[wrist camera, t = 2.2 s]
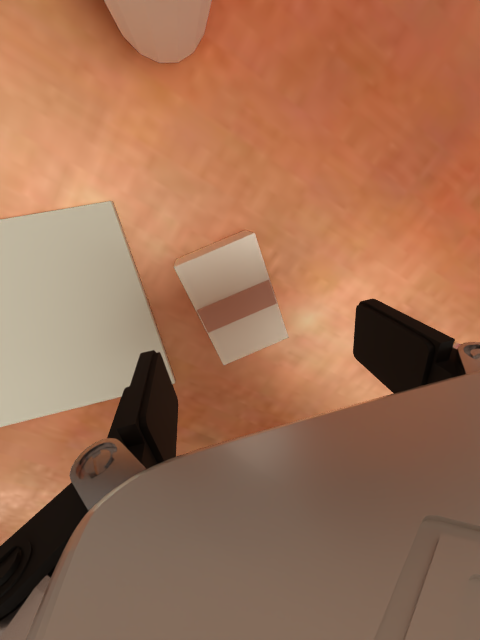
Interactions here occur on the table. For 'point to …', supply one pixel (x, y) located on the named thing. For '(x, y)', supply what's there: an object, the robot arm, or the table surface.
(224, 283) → the card box
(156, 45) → the shot glass
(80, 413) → the table surface
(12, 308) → the mat
